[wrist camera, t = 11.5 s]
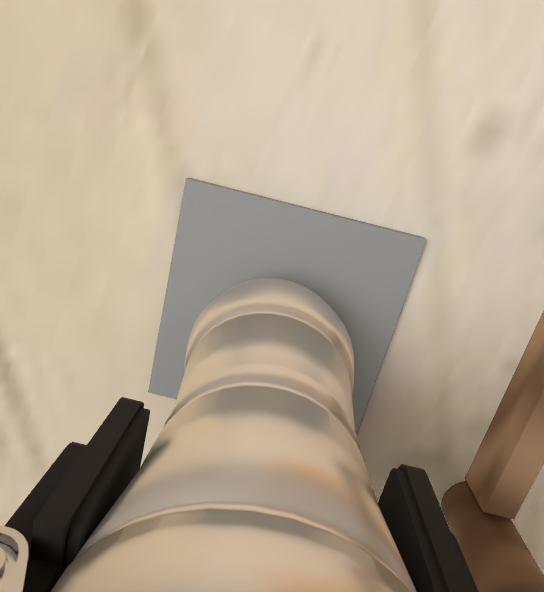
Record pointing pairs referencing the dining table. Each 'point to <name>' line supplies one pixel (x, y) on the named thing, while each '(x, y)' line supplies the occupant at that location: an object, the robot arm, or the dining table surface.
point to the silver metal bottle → (251, 466)
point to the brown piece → (503, 483)
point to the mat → (283, 273)
